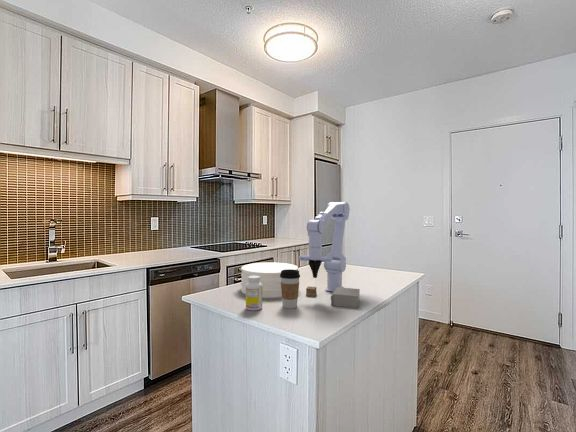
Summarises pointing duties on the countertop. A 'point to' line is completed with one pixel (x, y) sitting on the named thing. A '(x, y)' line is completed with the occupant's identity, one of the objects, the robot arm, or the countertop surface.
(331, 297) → the tray
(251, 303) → the supplement bottle
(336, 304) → the block
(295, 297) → the coffee cup
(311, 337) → the countertop surface
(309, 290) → the brown cube
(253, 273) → the plate stack
